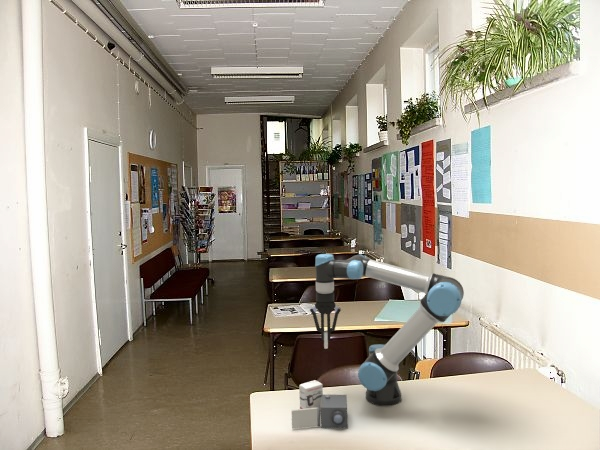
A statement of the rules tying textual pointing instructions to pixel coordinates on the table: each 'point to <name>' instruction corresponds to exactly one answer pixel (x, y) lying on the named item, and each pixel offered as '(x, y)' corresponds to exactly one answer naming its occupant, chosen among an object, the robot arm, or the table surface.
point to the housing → (334, 411)
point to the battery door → (305, 418)
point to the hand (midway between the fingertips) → (326, 347)
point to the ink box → (310, 394)
